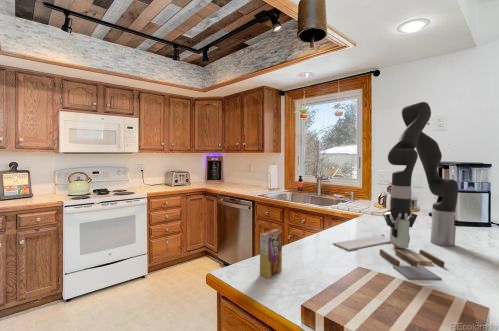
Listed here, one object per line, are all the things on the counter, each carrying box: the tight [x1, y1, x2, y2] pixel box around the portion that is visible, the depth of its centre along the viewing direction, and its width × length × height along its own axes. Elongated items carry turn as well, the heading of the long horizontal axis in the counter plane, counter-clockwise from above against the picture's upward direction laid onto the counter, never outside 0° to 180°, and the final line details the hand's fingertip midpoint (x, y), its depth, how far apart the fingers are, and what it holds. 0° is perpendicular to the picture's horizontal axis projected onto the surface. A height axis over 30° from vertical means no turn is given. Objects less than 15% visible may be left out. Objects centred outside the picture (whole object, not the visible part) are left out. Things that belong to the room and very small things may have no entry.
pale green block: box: [389, 216, 410, 249], centre depth 111 cm, size 3×8×11 cm, turn 2°
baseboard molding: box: [331, 234, 392, 252], centre depth 134 cm, size 31×3×12 cm
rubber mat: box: [392, 265, 443, 281], centre depth 99 cm, size 12×10×1 cm
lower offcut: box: [417, 263, 435, 266], centre depth 112 cm, size 7×9×1 cm
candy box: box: [259, 228, 283, 279], centre depth 97 cm, size 9×4×15 cm, turn 140°
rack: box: [379, 248, 445, 268], centre depth 112 cm, size 19×13×2 cm
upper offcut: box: [405, 253, 433, 264], centre depth 112 cm, size 6×8×1 cm
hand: (399, 236), depth 111 cm, fingers closed on pale green block, 3 cm apart
